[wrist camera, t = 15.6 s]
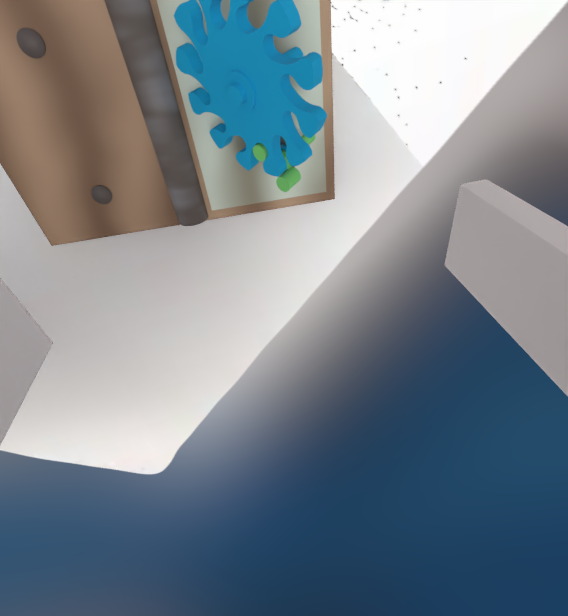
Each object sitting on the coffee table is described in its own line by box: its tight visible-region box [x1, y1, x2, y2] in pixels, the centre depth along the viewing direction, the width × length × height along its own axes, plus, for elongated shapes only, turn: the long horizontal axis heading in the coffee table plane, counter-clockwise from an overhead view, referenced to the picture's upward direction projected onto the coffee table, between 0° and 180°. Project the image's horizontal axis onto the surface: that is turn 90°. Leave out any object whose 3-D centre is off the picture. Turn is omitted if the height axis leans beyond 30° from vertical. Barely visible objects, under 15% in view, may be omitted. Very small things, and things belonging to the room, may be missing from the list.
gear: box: [174, 0, 327, 192], centre depth 20 cm, size 11×6×10 cm
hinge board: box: [0, 0, 335, 246], centre depth 23 cm, size 23×16×2 cm
